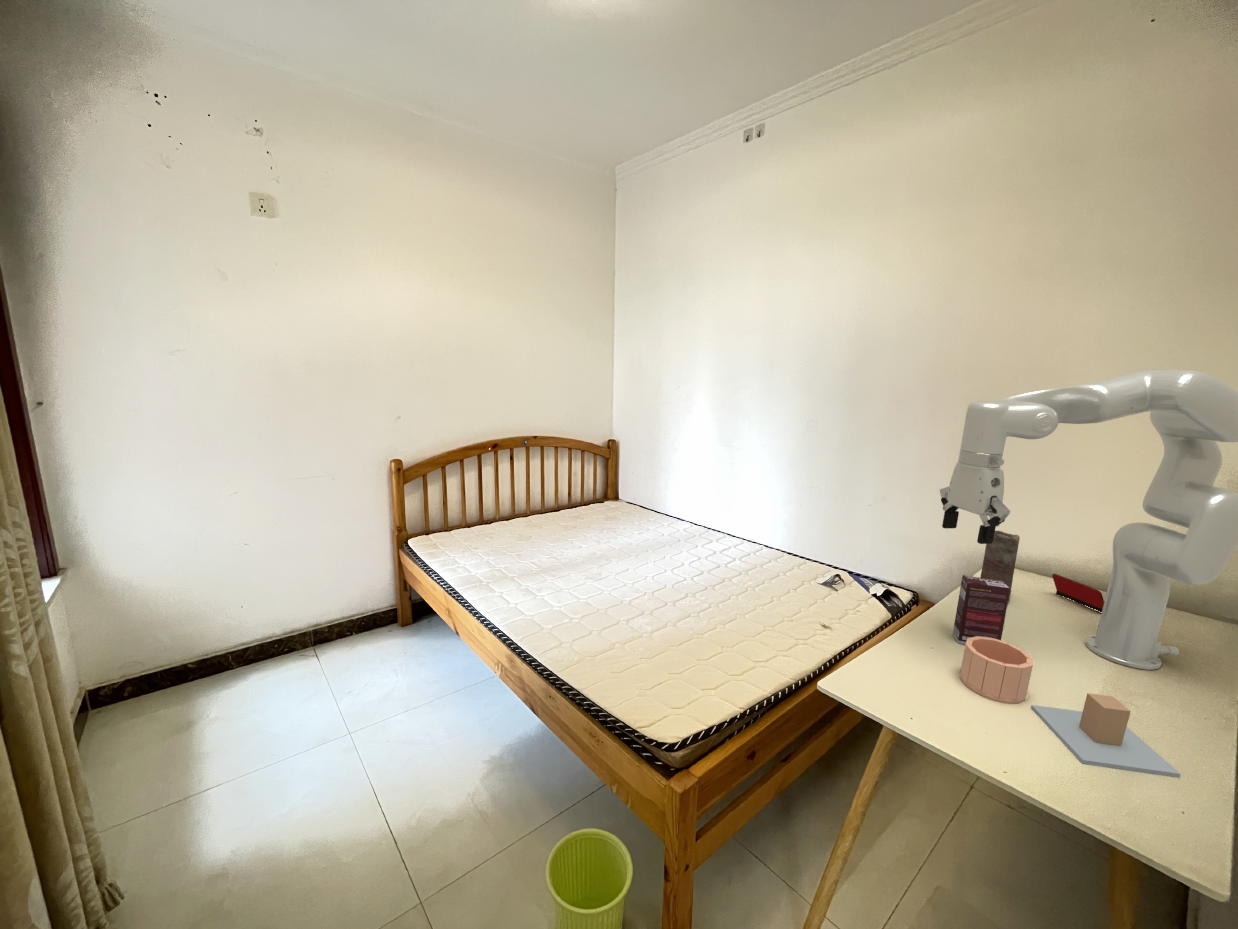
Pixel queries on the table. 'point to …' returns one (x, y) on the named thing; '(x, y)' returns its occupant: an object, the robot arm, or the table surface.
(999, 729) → the table surface
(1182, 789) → the table surface
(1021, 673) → the bowl
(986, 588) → the supplement box
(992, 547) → the brown stone block
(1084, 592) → the red slanted piece
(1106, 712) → the cover
